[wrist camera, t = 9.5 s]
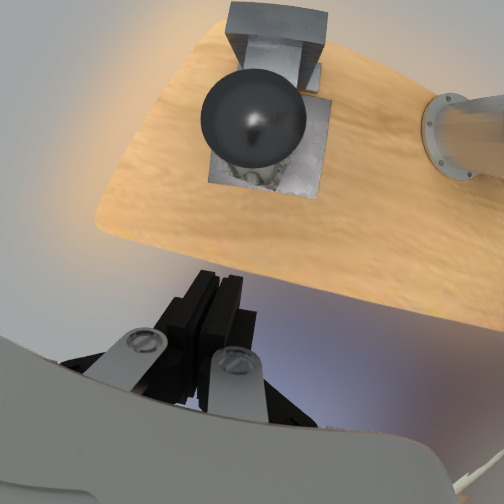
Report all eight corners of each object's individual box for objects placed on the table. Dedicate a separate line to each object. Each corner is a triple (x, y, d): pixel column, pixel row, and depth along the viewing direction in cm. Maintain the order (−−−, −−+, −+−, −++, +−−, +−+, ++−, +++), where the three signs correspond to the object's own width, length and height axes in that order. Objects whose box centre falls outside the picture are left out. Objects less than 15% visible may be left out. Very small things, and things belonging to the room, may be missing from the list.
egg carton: (276, 191, 36) (275, 197, 32) (221, 170, 36) (214, 173, 32) (307, 115, 33) (311, 110, 29) (251, 93, 32) (247, 87, 28)
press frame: (335, 69, 30) (374, 14, 14) (316, 198, 36) (344, 236, 20) (226, 54, 31) (188, -7, 15) (208, 182, 37) (154, 207, 21)
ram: (296, 112, 24) (313, 76, 12) (289, 165, 25) (298, 176, 13) (242, 104, 24) (208, 65, 12) (234, 157, 26) (194, 162, 13)
